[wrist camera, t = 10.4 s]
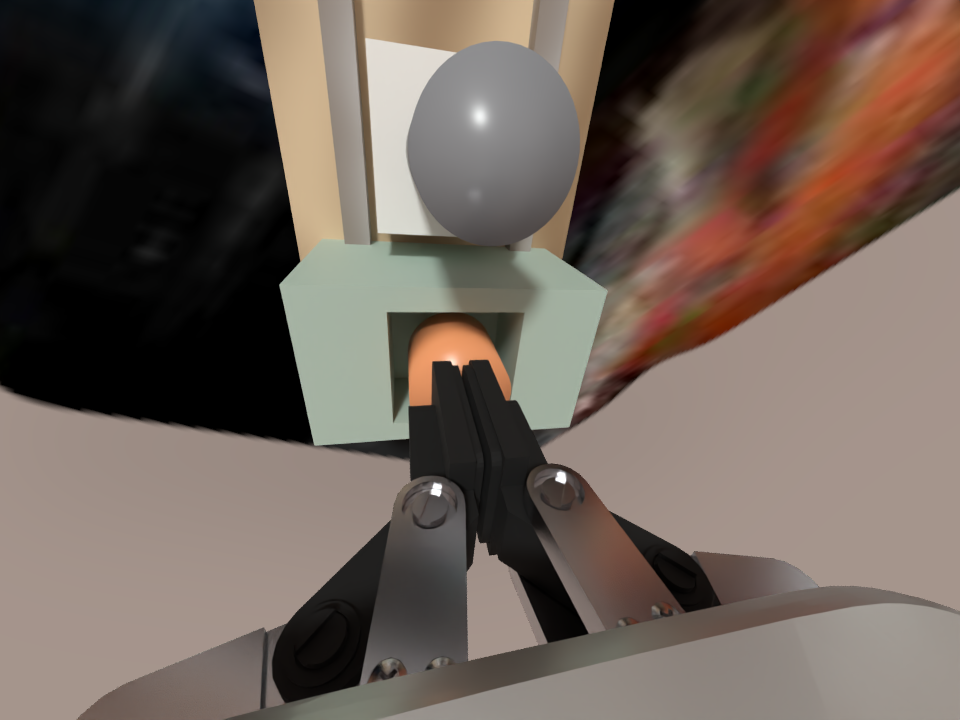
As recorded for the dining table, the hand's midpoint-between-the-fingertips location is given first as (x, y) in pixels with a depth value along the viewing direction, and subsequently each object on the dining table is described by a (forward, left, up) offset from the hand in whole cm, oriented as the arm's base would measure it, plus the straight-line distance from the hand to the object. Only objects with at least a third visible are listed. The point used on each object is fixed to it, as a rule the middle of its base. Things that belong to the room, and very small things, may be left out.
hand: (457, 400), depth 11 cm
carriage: (0, -7, -7) cm, 10 cm away
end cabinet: (0, 0, -9) cm, 9 cm away
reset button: (0, 0, -3) cm, 3 cm away
